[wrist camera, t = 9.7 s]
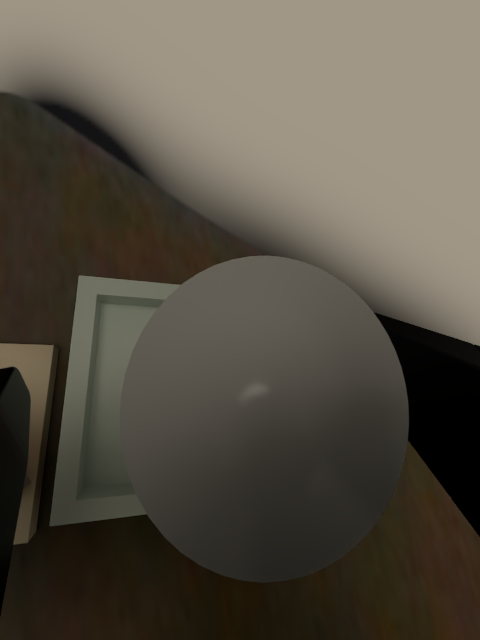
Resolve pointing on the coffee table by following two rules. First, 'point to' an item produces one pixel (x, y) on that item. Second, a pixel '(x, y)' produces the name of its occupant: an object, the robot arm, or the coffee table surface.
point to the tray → (100, 399)
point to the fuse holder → (33, 422)
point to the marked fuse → (264, 419)
